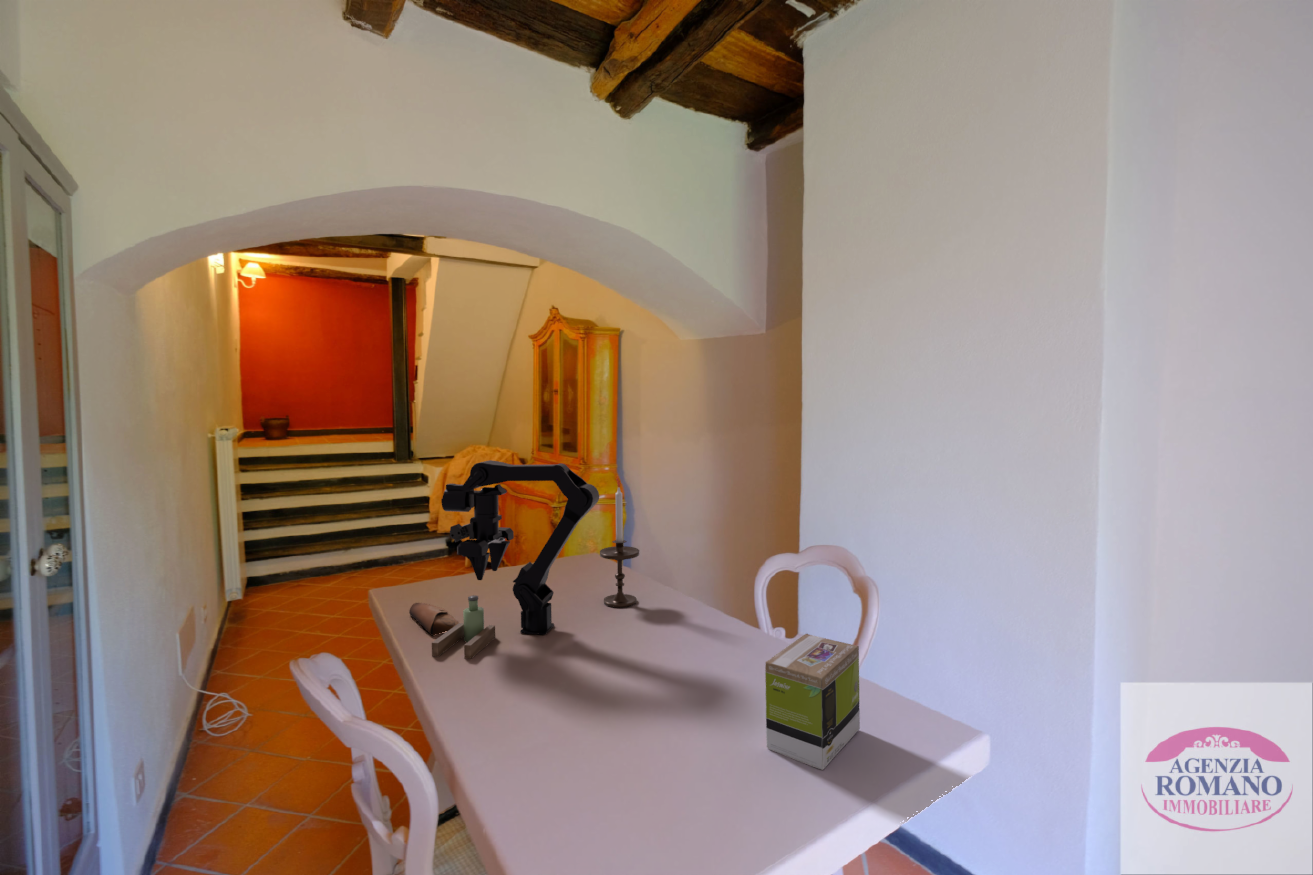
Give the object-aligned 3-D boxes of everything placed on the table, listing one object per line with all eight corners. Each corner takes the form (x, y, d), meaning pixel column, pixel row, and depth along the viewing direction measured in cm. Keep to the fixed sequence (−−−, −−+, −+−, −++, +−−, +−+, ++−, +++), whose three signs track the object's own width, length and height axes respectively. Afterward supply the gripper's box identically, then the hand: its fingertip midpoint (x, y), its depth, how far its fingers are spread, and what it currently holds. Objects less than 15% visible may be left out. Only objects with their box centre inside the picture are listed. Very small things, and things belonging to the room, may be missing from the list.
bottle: (487, 635, 146) (486, 594, 145) (478, 643, 141) (477, 600, 141) (469, 634, 147) (468, 593, 146) (460, 642, 142) (459, 599, 141)
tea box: (805, 711, 109) (806, 630, 108) (861, 730, 103) (862, 644, 102) (763, 749, 98) (764, 659, 97) (823, 773, 91) (824, 676, 90)
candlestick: (595, 599, 172) (593, 475, 170) (630, 594, 176) (629, 473, 174) (608, 611, 162) (607, 479, 160) (646, 605, 166) (645, 477, 164)
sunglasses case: (465, 627, 151) (451, 607, 148) (441, 648, 147) (426, 628, 145) (441, 608, 165) (427, 590, 163) (418, 626, 162) (404, 608, 159)
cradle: (495, 637, 144) (495, 625, 144) (470, 658, 133) (470, 645, 132) (459, 635, 146) (459, 622, 146) (432, 655, 134) (431, 642, 134)
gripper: (474, 504, 160) (475, 563, 161) (435, 518, 142) (436, 584, 143) (514, 506, 158) (514, 565, 159) (480, 520, 140) (481, 587, 141)
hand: (487, 575), depth 150 cm, fingers open, 8 cm apart
